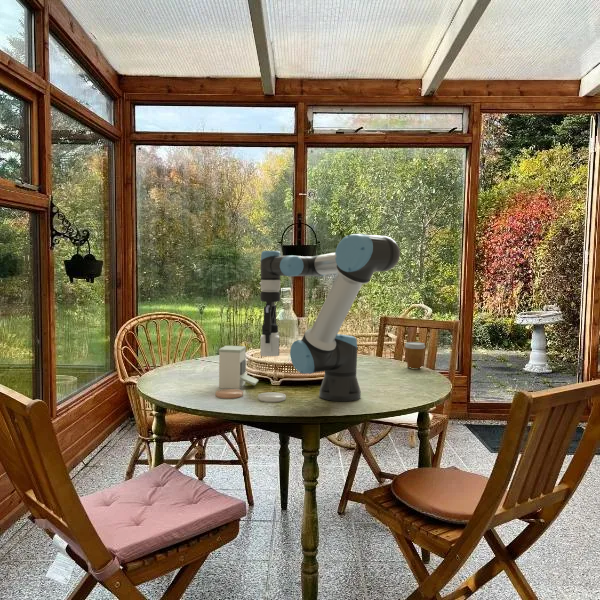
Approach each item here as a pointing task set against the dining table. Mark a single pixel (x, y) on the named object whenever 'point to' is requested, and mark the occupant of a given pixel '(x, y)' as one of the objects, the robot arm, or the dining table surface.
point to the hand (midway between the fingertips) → (269, 350)
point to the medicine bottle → (274, 342)
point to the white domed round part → (271, 397)
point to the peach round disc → (229, 393)
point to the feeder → (233, 367)
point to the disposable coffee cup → (414, 354)
